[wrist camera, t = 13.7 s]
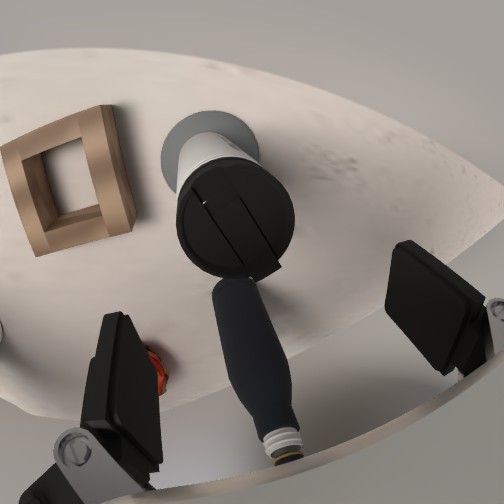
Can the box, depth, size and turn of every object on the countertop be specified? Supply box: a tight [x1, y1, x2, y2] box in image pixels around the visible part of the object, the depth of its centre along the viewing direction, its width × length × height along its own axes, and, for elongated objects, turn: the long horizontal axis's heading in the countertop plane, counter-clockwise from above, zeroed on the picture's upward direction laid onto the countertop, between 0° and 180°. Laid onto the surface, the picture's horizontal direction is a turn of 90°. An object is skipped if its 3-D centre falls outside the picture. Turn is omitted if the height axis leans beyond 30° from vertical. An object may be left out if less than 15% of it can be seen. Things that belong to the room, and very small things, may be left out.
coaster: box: [161, 111, 259, 193], centre depth 32 cm, size 11×11×1 cm
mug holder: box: [0, 105, 137, 257], centre depth 27 cm, size 13×13×5 cm
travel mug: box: [176, 131, 295, 283], centre depth 24 cm, size 6×7×20 cm
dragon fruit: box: [146, 345, 169, 396], centre depth 41 cm, size 8×8×12 cm
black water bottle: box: [212, 277, 304, 466], centre depth 29 cm, size 6×6×30 cm
